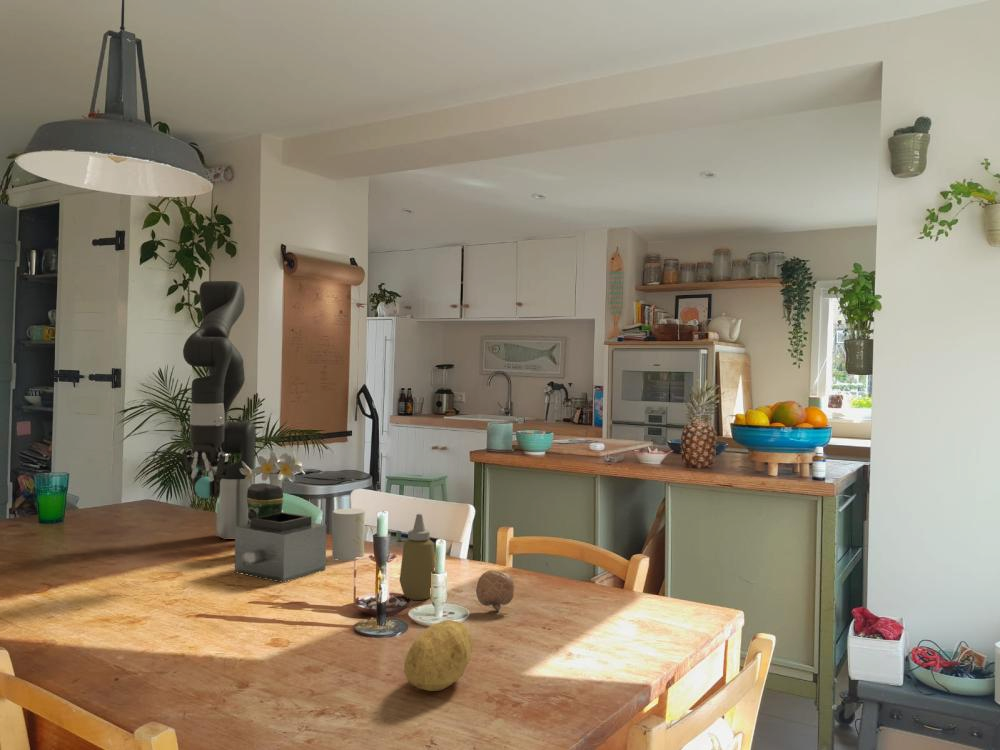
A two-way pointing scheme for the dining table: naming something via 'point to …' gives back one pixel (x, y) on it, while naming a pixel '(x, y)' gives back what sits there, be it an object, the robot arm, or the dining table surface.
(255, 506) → the coffee jar
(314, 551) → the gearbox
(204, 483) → the teal ball
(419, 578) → the squeeze bottle
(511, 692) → the dining table surface
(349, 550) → the grey cylinder
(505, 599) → the mushroom
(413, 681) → the potato
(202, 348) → the robot arm
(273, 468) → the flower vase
